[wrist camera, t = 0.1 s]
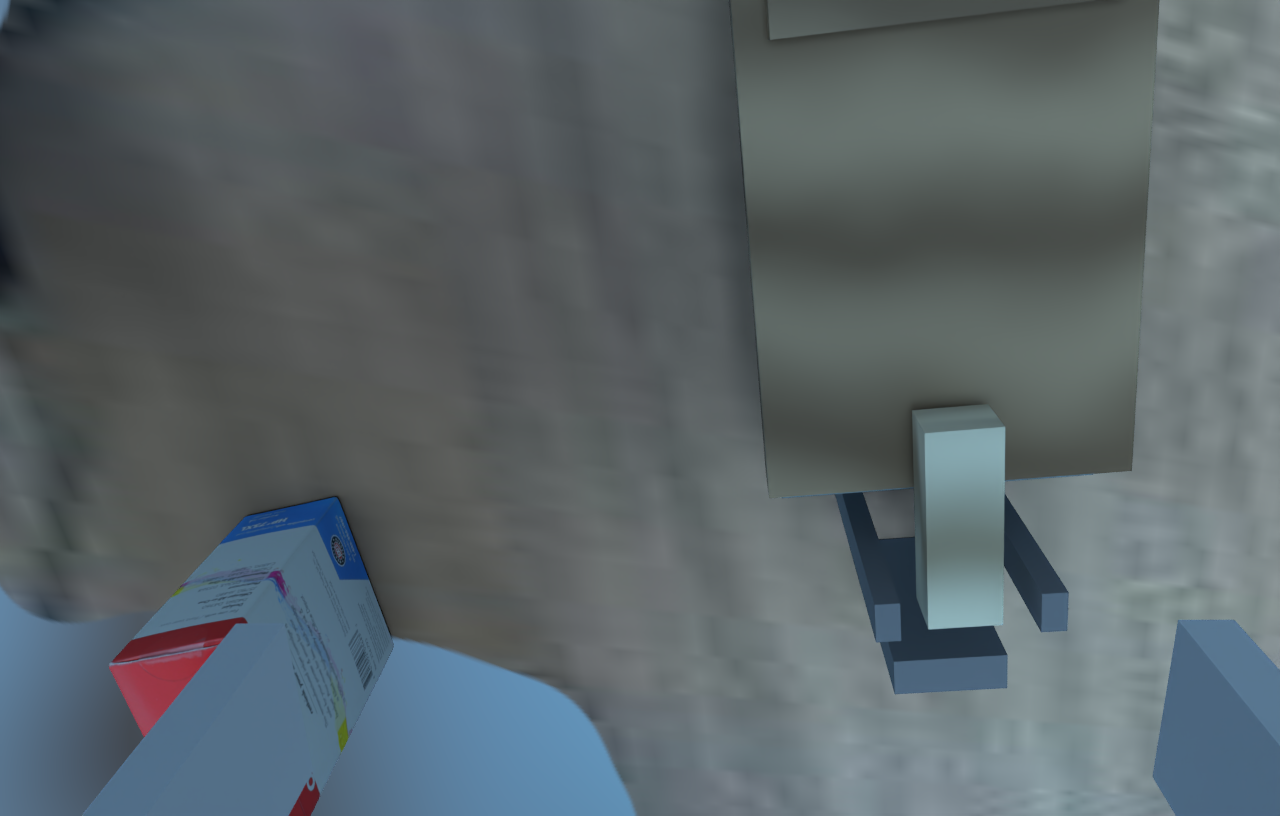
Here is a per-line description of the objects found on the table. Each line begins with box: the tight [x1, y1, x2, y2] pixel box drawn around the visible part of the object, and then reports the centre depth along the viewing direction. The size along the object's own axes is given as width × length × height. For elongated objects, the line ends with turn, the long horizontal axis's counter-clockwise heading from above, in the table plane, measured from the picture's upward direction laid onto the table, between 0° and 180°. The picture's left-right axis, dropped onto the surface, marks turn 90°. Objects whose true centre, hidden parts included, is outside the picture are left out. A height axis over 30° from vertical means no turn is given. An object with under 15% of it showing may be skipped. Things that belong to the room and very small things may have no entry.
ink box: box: [109, 497, 393, 816], centre depth 40 cm, size 8×5×15 cm, turn 13°
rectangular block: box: [912, 404, 1005, 629], centre depth 33 cm, size 7×2×2 cm, turn 6°
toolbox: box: [782, 474, 1093, 694], centre depth 35 cm, size 27×11×12 cm, turn 6°
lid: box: [729, 0, 1159, 498], centre depth 31 cm, size 18×12×3 cm, turn 6°
